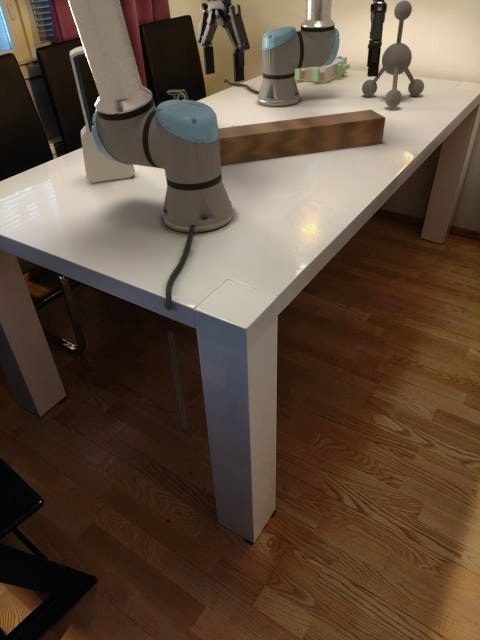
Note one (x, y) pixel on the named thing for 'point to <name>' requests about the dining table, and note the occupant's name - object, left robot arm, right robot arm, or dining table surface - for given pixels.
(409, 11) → the molecular model
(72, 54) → the electronic device
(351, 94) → the dining table surface
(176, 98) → the grenade
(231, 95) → the dining table surface
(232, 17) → the left robot arm
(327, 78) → the decorative block
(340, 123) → the wide beam
